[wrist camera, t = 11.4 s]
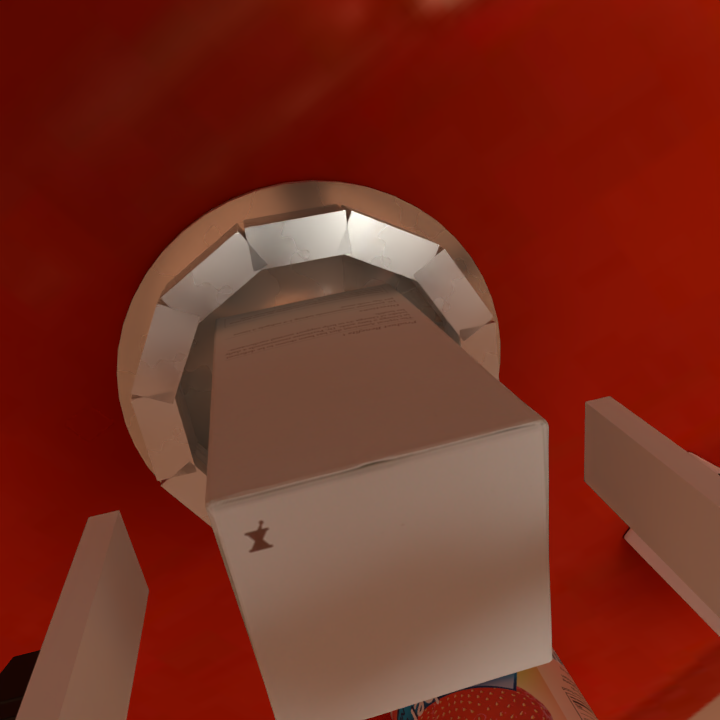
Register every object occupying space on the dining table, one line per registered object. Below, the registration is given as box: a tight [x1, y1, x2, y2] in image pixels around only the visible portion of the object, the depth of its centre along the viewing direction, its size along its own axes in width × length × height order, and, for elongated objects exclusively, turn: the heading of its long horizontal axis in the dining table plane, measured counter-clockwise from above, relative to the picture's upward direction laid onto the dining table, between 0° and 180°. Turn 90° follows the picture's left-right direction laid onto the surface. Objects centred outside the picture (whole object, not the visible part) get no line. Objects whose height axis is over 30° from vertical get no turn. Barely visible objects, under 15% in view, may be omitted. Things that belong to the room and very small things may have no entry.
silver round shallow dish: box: [117, 180, 500, 527], centre depth 24 cm, size 16×16×3 cm
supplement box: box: [205, 283, 553, 720], centre depth 19 cm, size 7×7×13 cm
